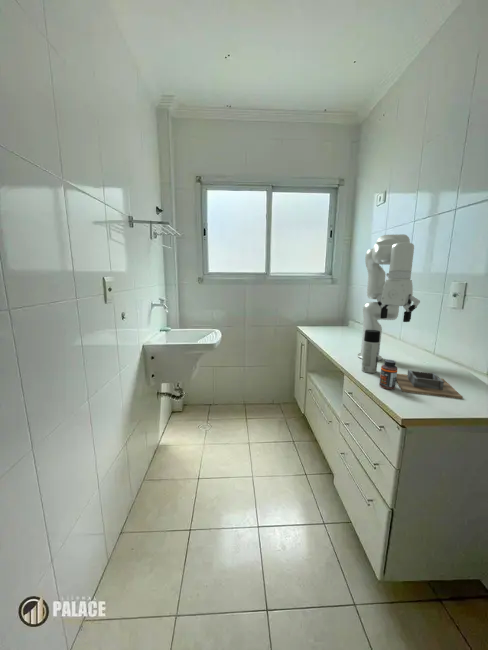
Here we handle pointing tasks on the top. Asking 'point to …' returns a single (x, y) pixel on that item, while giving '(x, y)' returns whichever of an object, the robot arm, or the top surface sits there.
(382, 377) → the supplement bottle
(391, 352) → the top surface
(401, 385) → the brown square board
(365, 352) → the spray can
